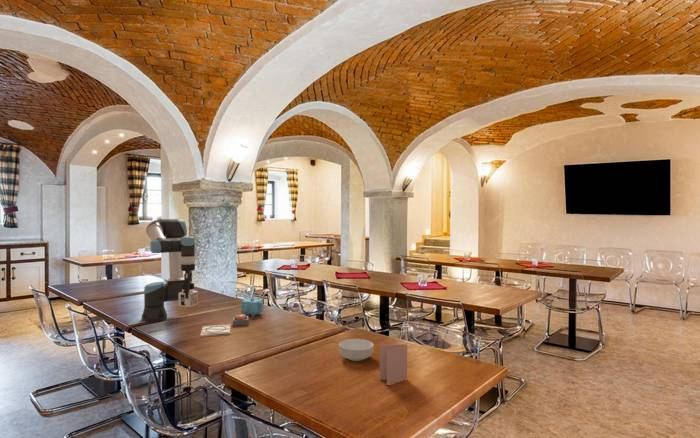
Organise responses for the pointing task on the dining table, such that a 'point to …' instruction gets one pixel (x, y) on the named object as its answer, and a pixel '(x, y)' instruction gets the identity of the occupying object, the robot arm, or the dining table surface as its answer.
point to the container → (192, 296)
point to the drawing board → (215, 330)
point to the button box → (240, 322)
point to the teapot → (252, 306)
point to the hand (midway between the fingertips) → (188, 302)
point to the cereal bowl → (356, 349)
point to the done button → (240, 317)
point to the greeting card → (393, 363)
